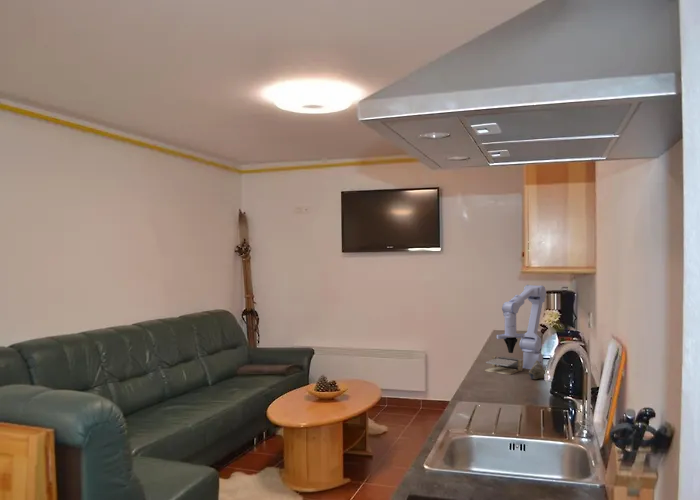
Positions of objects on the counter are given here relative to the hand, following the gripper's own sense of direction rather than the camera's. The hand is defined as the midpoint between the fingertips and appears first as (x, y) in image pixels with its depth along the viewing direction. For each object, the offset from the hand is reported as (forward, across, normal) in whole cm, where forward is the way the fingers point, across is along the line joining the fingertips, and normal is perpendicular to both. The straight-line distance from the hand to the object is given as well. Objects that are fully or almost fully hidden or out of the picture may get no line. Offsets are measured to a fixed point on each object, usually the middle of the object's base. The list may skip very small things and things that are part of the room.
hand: (510, 352), depth 274 cm
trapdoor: (+6, -3, -9) cm, 11 cm away
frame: (+10, -3, -9) cm, 14 cm away
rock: (+4, -4, +10) cm, 12 cm away
